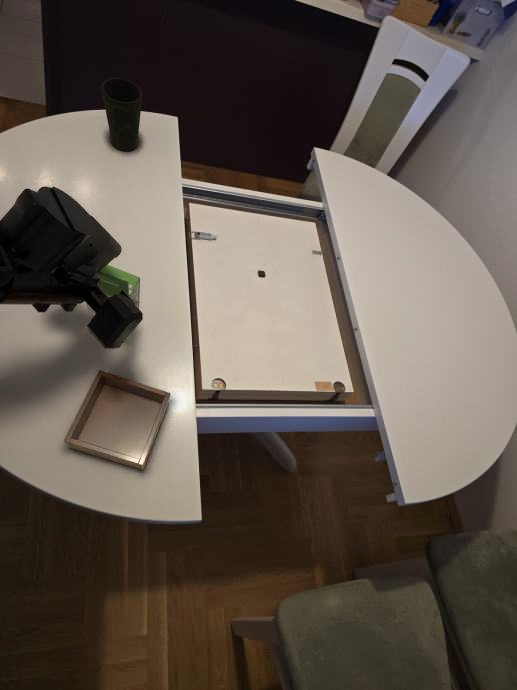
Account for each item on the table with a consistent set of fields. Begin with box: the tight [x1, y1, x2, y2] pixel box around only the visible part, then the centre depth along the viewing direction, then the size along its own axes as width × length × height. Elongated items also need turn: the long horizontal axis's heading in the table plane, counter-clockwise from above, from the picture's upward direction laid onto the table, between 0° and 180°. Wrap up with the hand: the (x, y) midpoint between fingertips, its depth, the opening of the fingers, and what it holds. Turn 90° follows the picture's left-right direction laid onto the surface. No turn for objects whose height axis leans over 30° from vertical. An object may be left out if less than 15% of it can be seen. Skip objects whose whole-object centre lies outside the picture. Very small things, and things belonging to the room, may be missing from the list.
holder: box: [63, 369, 171, 471], centre depth 60 cm, size 11×11×5 cm
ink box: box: [85, 264, 141, 317], centre depth 56 cm, size 7×4×13 cm, turn 74°
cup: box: [100, 77, 143, 153], centre depth 82 cm, size 8×8×12 cm
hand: (120, 285), depth 57 cm, fingers closed on ink box, 8 cm apart
